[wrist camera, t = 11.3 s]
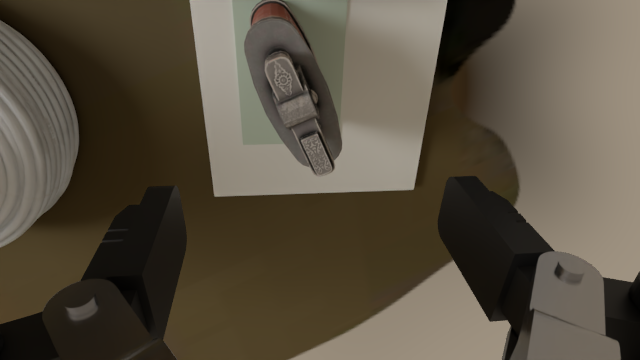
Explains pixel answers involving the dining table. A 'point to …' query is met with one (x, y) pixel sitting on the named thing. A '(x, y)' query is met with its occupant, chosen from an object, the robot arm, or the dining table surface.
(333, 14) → the board
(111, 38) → the dining table surface
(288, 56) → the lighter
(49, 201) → the cable
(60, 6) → the dining table surface
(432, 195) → the dining table surface
